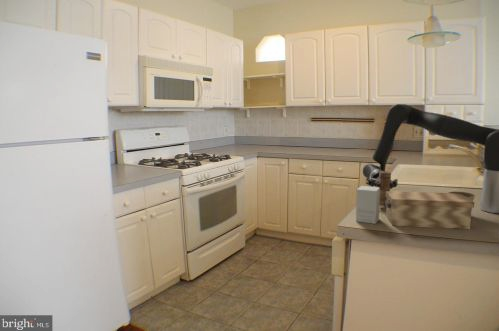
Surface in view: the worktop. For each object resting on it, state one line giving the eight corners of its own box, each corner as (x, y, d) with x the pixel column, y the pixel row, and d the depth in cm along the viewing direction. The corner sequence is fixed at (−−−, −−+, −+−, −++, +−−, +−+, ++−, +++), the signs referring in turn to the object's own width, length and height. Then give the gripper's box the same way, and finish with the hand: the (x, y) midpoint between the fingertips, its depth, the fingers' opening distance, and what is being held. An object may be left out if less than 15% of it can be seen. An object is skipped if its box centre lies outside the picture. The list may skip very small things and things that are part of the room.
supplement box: (379, 219, 140) (381, 187, 138) (375, 224, 134) (376, 191, 132) (360, 216, 144) (361, 185, 142) (355, 221, 137) (356, 189, 135)
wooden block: (387, 203, 157) (389, 171, 155) (389, 205, 153) (391, 173, 151) (377, 202, 158) (379, 171, 155) (378, 205, 154) (380, 172, 151)
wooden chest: (452, 213, 147) (454, 189, 145) (474, 229, 127) (476, 202, 125) (379, 210, 152) (380, 186, 151) (388, 225, 132) (390, 199, 130)
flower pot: (460, 219, 139) (462, 197, 137) (440, 213, 148) (442, 192, 146) (479, 217, 141) (481, 195, 140) (459, 211, 150) (461, 190, 149)
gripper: (363, 169, 168) (368, 176, 152) (395, 170, 166) (404, 178, 149) (362, 185, 170) (367, 194, 153) (394, 186, 167) (403, 195, 150)
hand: (385, 186), depth 151 cm, fingers closed on wooden block, 4 cm apart
